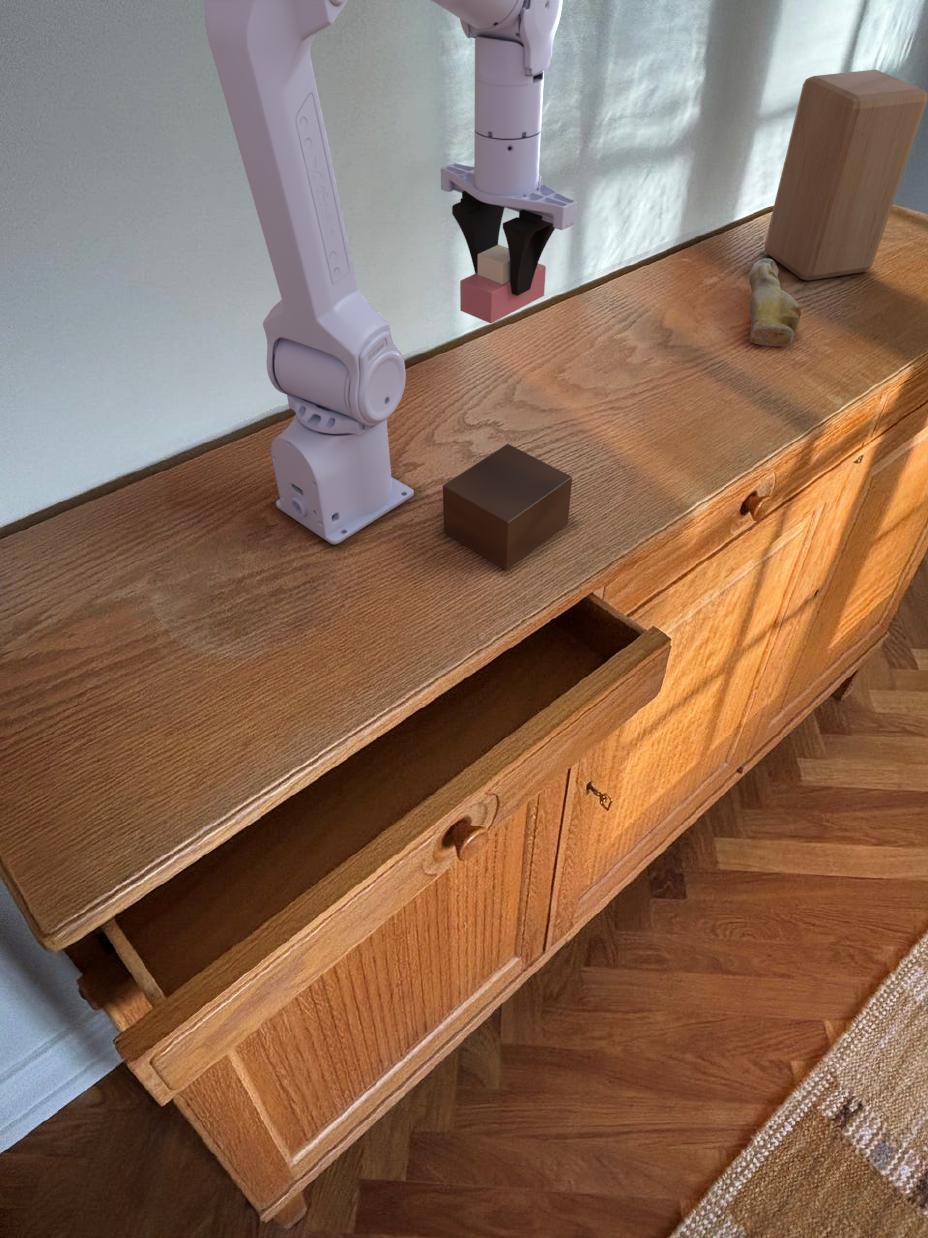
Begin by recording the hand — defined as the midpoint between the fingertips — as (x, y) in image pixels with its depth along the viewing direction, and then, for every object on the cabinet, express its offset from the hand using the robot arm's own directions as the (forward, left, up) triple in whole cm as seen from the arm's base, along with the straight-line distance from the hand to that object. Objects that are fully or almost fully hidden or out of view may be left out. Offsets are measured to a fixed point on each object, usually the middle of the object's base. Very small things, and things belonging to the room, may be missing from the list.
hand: (503, 284), depth 84 cm
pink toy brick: (0, 0, -2) cm, 2 cm away
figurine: (+31, -14, -10) cm, 35 cm away
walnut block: (-18, -17, -10) cm, 27 cm away
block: (+48, -11, -10) cm, 50 cm away
